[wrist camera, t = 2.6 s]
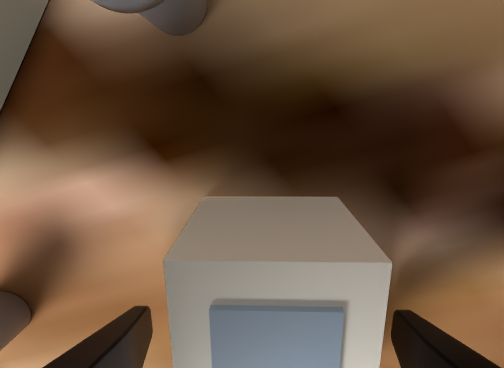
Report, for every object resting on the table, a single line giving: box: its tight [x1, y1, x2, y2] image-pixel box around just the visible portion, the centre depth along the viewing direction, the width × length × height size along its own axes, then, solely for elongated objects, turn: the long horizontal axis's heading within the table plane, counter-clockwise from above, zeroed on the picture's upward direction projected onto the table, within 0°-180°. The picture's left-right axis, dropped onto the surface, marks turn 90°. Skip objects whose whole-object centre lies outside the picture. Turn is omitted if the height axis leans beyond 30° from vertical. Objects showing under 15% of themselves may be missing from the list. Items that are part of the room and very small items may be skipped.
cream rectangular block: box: [163, 196, 392, 368], centre depth 8 cm, size 7×4×4 cm, turn 0°
